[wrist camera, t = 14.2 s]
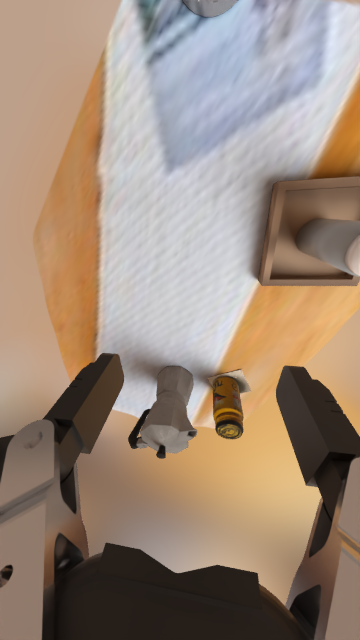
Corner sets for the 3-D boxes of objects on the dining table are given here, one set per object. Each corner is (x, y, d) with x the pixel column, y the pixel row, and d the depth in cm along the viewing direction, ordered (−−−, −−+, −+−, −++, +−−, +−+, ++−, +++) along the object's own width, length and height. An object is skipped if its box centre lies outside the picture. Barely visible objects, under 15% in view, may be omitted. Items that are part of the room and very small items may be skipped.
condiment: (206, 377, 47) (206, 424, 37) (241, 368, 44) (250, 416, 34) (217, 397, 50) (220, 445, 40) (250, 390, 47) (262, 440, 37)
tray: (273, 184, 27) (279, 181, 25) (385, 176, 25) (404, 173, 23) (258, 280, 34) (261, 285, 32) (345, 280, 32) (356, 285, 30)
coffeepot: (191, 357, 45) (181, 435, 29) (207, 385, 48) (207, 467, 33) (137, 375, 50) (105, 449, 34) (156, 398, 53) (134, 475, 38)
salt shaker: (300, 219, 28) (362, 224, 17) (338, 217, 28) (429, 222, 16) (292, 254, 31) (341, 280, 19) (326, 253, 30) (399, 280, 19)
